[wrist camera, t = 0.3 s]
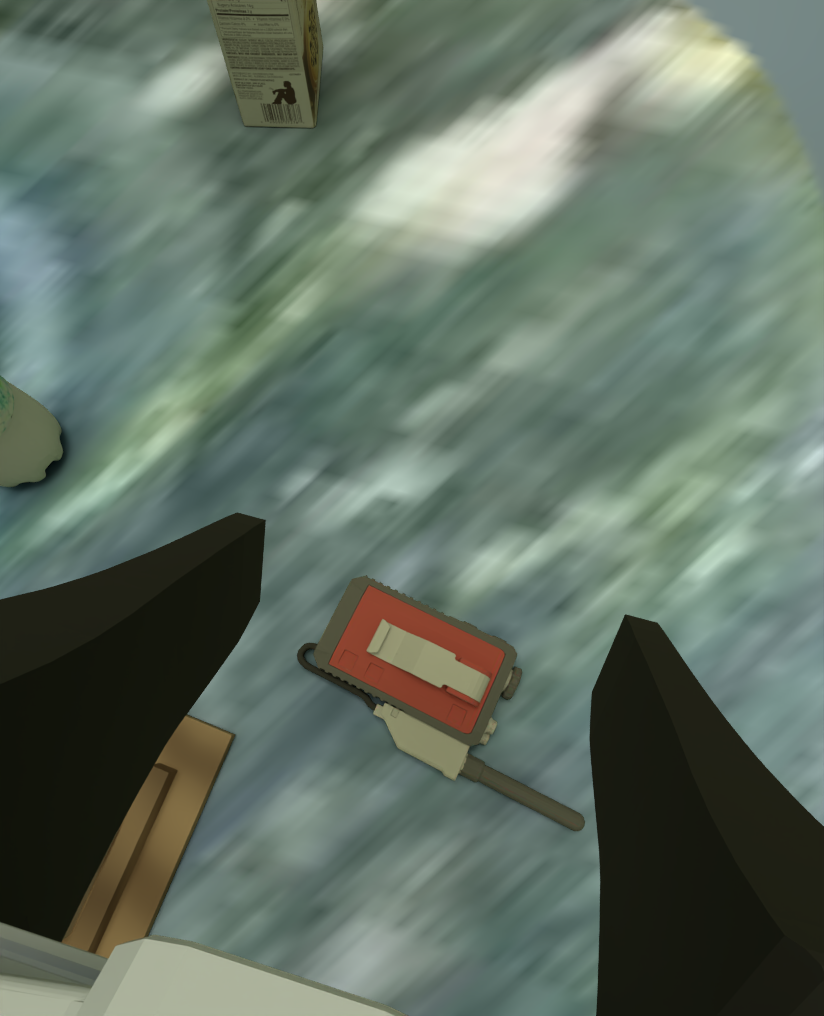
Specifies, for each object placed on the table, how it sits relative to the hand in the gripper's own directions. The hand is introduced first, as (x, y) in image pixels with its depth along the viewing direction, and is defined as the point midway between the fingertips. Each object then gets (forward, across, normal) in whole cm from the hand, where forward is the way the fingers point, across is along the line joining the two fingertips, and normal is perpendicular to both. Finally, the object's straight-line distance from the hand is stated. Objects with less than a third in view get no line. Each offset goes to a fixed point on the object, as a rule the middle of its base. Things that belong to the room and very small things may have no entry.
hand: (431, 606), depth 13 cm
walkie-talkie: (+21, -2, +23) cm, 31 cm away
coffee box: (+53, +24, -9) cm, 59 cm away
